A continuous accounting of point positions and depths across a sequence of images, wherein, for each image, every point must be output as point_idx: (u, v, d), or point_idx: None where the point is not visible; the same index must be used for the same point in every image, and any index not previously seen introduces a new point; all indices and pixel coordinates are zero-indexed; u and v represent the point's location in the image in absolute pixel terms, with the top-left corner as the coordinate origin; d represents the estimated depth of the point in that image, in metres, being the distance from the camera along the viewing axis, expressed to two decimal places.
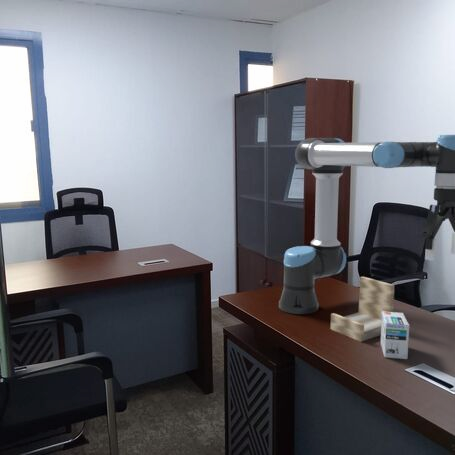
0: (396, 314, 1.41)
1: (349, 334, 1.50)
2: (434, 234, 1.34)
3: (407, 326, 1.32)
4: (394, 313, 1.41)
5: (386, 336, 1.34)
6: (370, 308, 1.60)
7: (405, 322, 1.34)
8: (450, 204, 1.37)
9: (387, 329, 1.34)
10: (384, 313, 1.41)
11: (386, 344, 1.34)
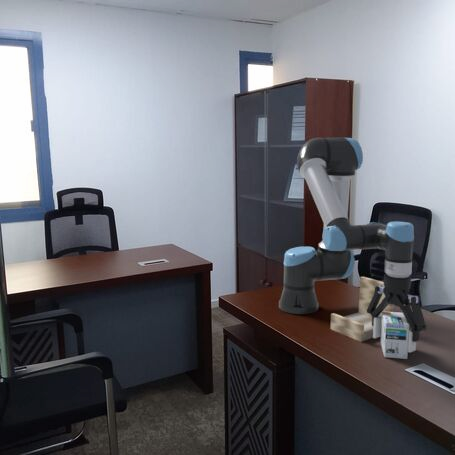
0: (396, 314, 1.41)
1: (349, 334, 1.50)
2: (374, 313, 1.43)
3: (407, 326, 1.32)
4: (394, 313, 1.41)
5: (386, 336, 1.34)
6: None
7: (405, 322, 1.34)
8: (394, 291, 1.36)
9: (387, 329, 1.34)
10: (384, 313, 1.41)
11: (386, 344, 1.34)
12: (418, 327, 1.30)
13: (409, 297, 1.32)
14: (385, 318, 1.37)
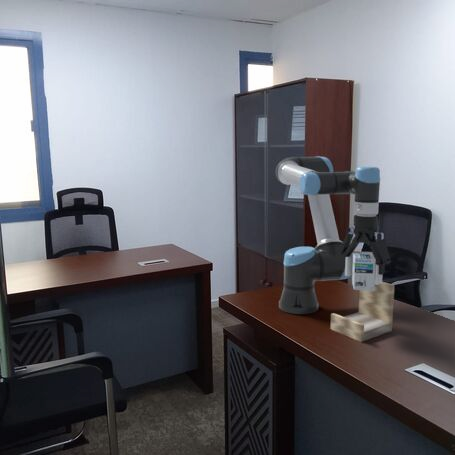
0: (365, 253, 1.54)
1: (349, 334, 1.50)
2: (345, 252, 1.56)
3: (373, 260, 1.46)
4: (364, 252, 1.55)
5: (355, 270, 1.48)
6: (370, 308, 1.60)
7: (372, 257, 1.48)
8: (363, 230, 1.49)
9: (356, 263, 1.47)
10: (355, 252, 1.55)
11: (355, 277, 1.48)
12: (383, 260, 1.44)
13: (376, 234, 1.46)
14: (355, 255, 1.51)
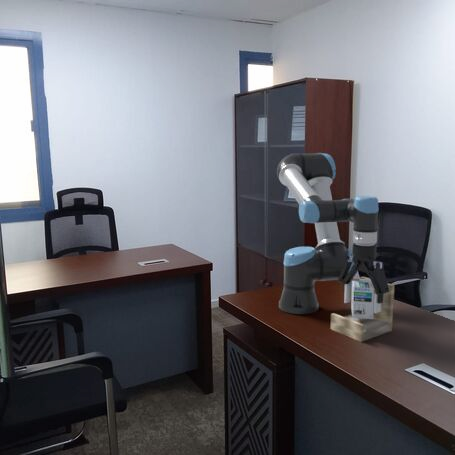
0: (364, 280, 1.56)
1: (349, 334, 1.50)
2: (344, 280, 1.58)
3: (372, 289, 1.47)
4: (363, 279, 1.57)
5: (354, 298, 1.49)
6: None
7: (371, 286, 1.49)
8: (361, 258, 1.51)
9: (355, 292, 1.49)
10: (353, 279, 1.56)
11: (354, 306, 1.50)
12: (382, 289, 1.45)
13: (374, 263, 1.48)
14: (354, 283, 1.52)
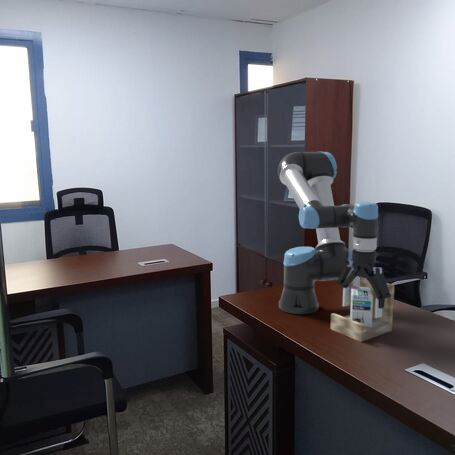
0: (363, 288, 1.56)
1: (349, 334, 1.50)
2: (343, 283, 1.58)
3: (371, 297, 1.48)
4: (362, 287, 1.57)
5: (353, 307, 1.50)
6: None
7: (370, 294, 1.50)
8: (361, 264, 1.51)
9: (353, 300, 1.50)
10: (353, 287, 1.57)
11: (353, 314, 1.50)
12: (383, 295, 1.45)
13: (374, 269, 1.48)
14: (353, 291, 1.53)
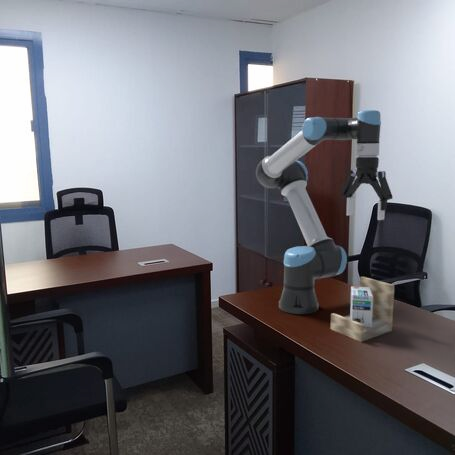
0: (363, 288, 1.56)
1: (349, 334, 1.50)
2: (347, 193, 1.66)
3: (371, 297, 1.48)
4: (362, 287, 1.57)
5: (353, 307, 1.50)
6: None
7: (370, 294, 1.50)
8: (364, 171, 1.59)
9: (353, 300, 1.50)
10: (353, 287, 1.57)
11: (353, 314, 1.50)
12: (385, 196, 1.52)
13: (376, 173, 1.55)
14: (353, 291, 1.53)
